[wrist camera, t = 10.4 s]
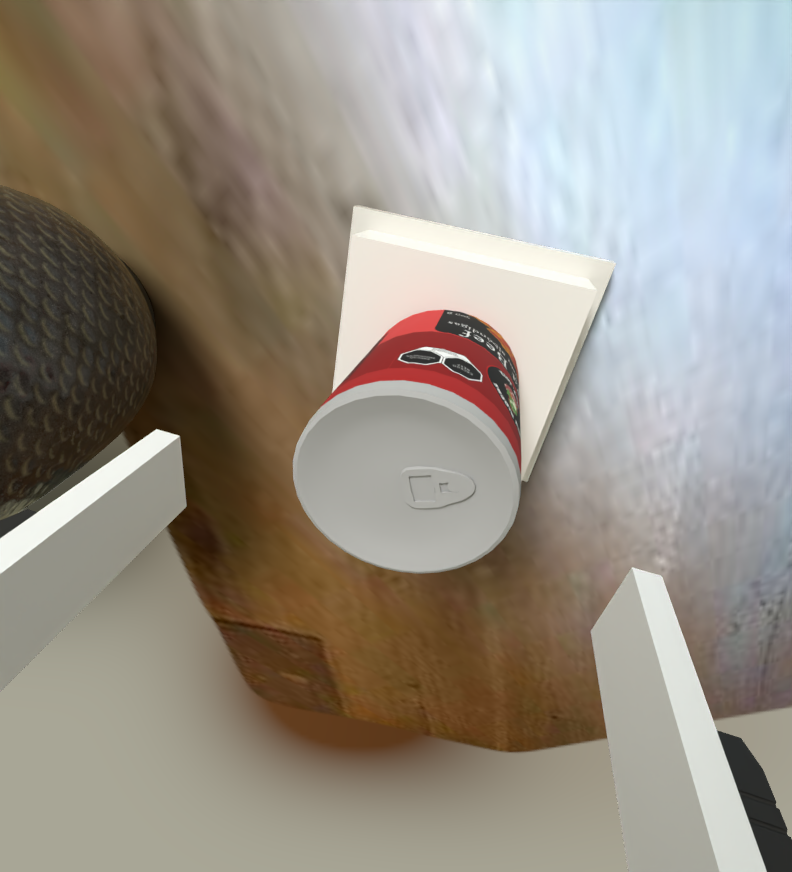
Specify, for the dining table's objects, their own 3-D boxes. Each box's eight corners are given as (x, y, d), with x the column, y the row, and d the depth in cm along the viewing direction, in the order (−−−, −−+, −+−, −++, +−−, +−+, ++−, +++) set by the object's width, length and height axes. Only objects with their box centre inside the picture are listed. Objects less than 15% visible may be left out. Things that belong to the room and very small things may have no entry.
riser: (359, 205, 25) (334, 208, 22) (612, 260, 24) (628, 273, 20) (333, 420, 33) (311, 448, 29) (526, 473, 31) (528, 509, 28)
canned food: (539, 411, 25) (555, 551, 15) (409, 454, 28) (356, 593, 18) (484, 277, 22) (463, 345, 13) (348, 341, 25) (249, 435, 16)
